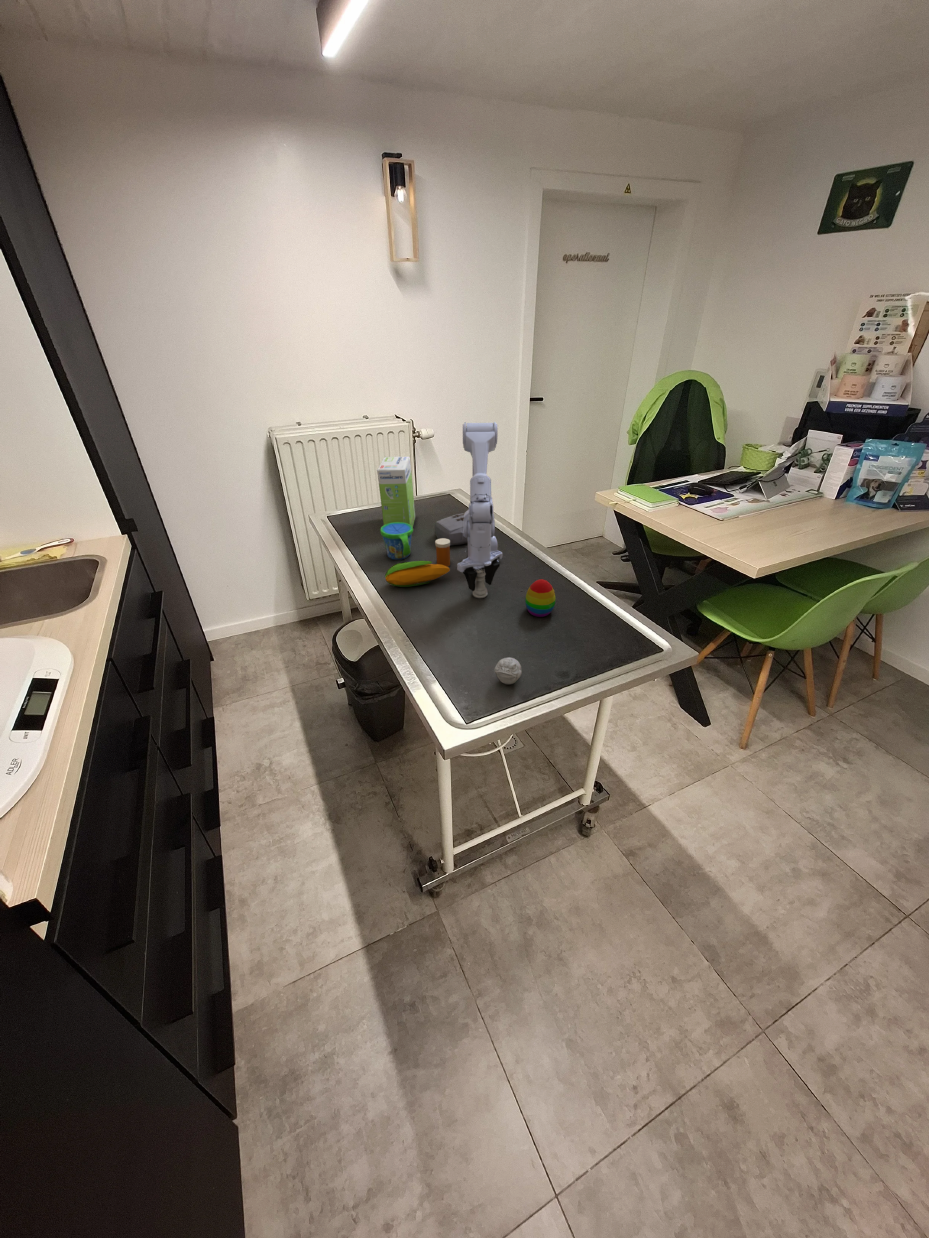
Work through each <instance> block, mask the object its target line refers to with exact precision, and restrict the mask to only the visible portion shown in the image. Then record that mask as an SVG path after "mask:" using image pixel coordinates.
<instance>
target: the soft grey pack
mask: <svg viewBox="0 0 929 1238" xmlns="http://www.w3.org/2000/svg"><path fill="white" fill-rule="evenodd" d="M464 514H465V512H464V513H456V514H453V515H450V516H447V517H444V518H441V519H439V520H437V521H436V522H435V523H434V529H433V530H434V534H435V535H436V538H437V539H440V538H446V539H449V540H450V546H460V545H466V544H468V540H467V538H465V536H464Z"/></svg>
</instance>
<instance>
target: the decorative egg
mask: <svg viewBox="0 0 929 1238" xmlns="http://www.w3.org/2000/svg"><path fill="white" fill-rule="evenodd" d="M524 602H525V607H526V610H527V611H528V612H529V613H530V615H532V616H534V617H538V618H543V617H547V616H548V615H550V613H552V611H553V610H554V609H555V605H556V592H555V590H554V588H553V586H552V584H551V583H550V582H549V581H548V580H546V579H544V578H543V579H541V578H540V579H537V580H535V581H534V582H533V583H532V584H530V585H529V587H528V589H527V591H526V594H525V600H524Z"/></svg>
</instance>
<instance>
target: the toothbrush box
mask: <svg viewBox="0 0 929 1238" xmlns="http://www.w3.org/2000/svg"><path fill="white" fill-rule="evenodd" d="M411 465H412V463H411V456H384V457H383V459H382V461H381V462H380V464H379V466H378V468H377V469H376V473H377V481H378V488H379V489H378V490H379V498H380V507H381V514H382V521H383V526H384V525H386V524H388V523H393V522H403V523H408V524H410V525H411V526H412V528H413V527H414V524H415V521H416V508H415V507H416V506H415V498H414V497H415V496H414V487H413V476H412V475H413V474H412V466H411ZM413 529H414V528H413Z"/></svg>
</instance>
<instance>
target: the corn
mask: <svg viewBox="0 0 929 1238" xmlns="http://www.w3.org/2000/svg"><path fill="white" fill-rule="evenodd" d="M450 571H451V568H450V567H449V566H448V567H446V566H444V565H440V564H437V563H433V561H431V560H414V561H413V560H412V561H404V562H403V561H402V562H399V563H395V564H393V565H391V566H390V567H389V568H388V569H387V570H386V571H385V575H384V578H385V581H386V582H387V583H388V584H389V585H390V586H393V587H397V588H409V587H415V586H416V587H417V586H423V585H426V584H430V583H431V581H434V580H437V579H439V578H441V577H442V576H445V575H447V573H449V572H450Z"/></svg>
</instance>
